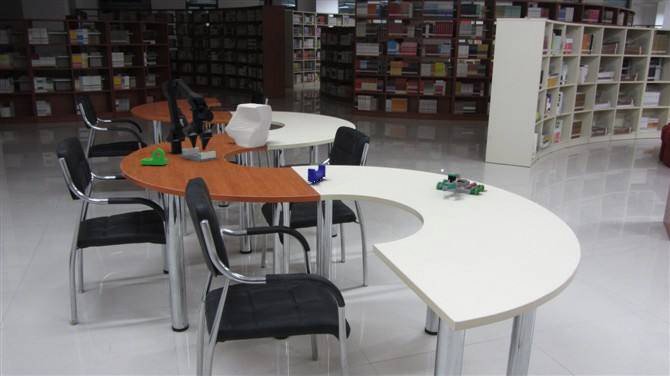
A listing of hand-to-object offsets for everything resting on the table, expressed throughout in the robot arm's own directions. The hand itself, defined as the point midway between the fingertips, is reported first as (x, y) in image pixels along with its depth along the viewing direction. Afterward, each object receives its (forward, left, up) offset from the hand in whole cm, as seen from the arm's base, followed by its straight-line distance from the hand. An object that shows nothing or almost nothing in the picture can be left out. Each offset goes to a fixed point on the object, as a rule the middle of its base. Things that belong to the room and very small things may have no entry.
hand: (198, 149), depth 294 cm
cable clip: (+78, +11, -5) cm, 79 cm away
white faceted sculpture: (-10, +44, -5) cm, 45 cm away
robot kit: (+137, +35, -5) cm, 142 cm away
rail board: (0, 0, -5) cm, 5 cm away
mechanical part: (-3, -24, -5) cm, 25 cm away
